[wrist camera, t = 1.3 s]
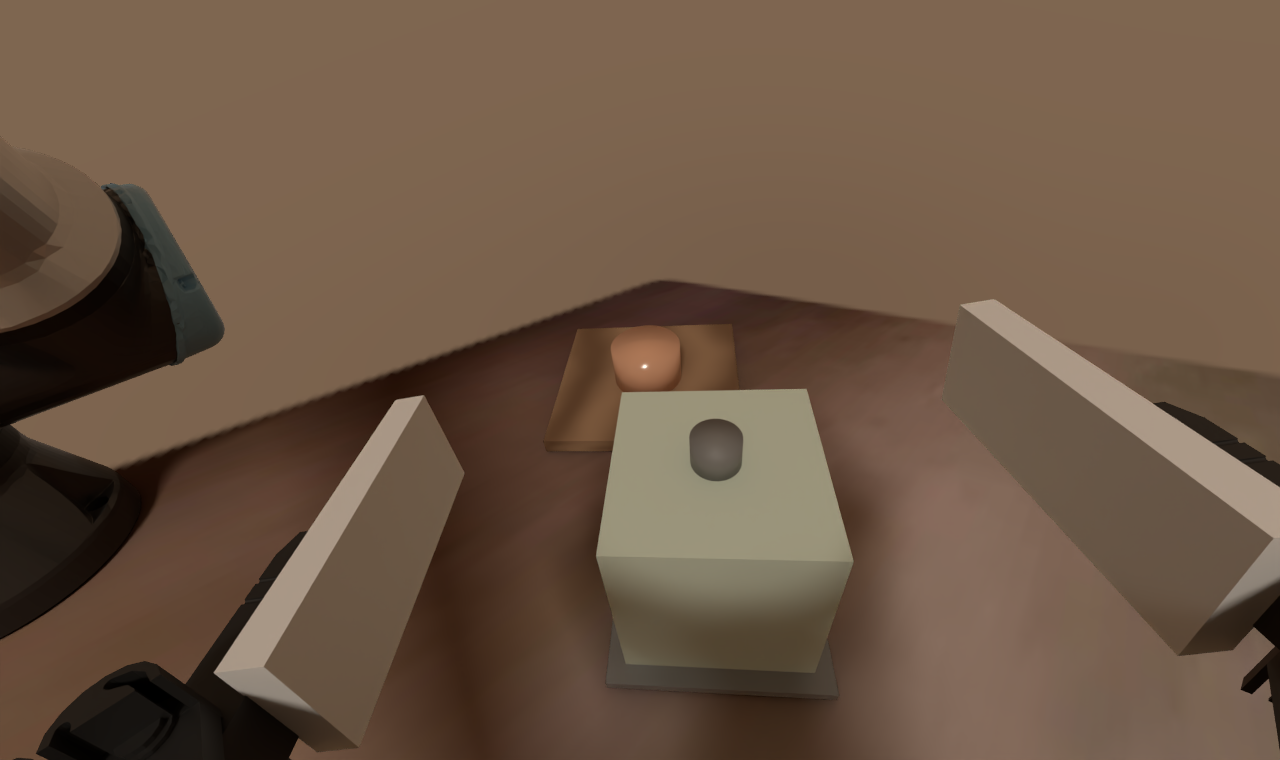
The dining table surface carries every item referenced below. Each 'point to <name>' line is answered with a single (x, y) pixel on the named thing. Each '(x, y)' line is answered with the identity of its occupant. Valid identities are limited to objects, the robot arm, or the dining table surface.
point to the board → (595, 396)
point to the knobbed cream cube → (721, 531)
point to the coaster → (721, 678)
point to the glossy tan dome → (646, 359)
